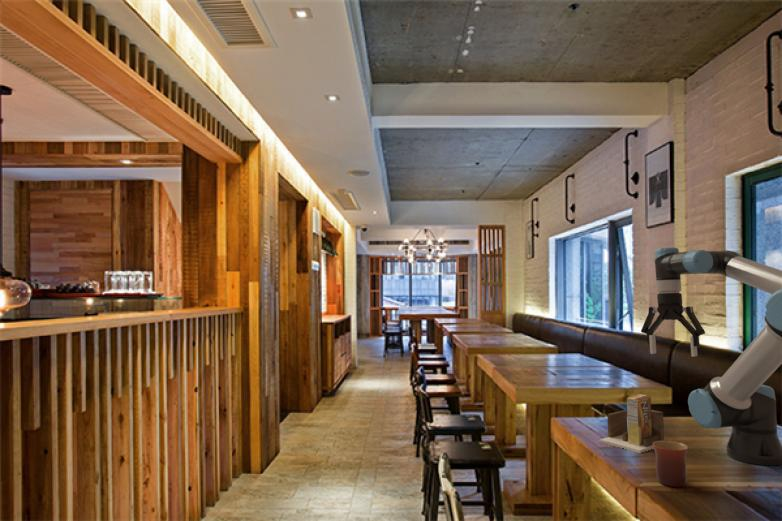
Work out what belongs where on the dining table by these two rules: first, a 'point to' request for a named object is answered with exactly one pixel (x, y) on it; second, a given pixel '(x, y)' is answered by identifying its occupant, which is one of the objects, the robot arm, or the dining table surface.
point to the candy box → (639, 418)
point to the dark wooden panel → (617, 423)
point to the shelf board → (625, 444)
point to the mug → (671, 463)
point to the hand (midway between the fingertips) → (673, 355)
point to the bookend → (653, 429)
